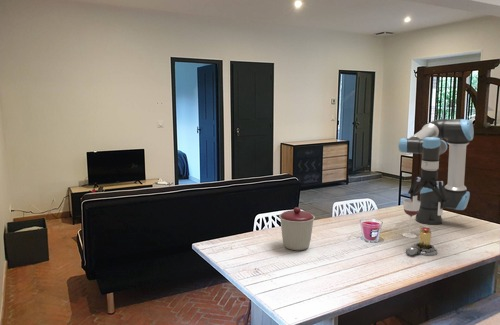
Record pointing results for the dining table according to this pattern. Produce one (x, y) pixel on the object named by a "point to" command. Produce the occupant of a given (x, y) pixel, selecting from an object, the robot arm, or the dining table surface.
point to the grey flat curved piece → (421, 250)
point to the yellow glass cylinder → (425, 238)
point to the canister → (296, 228)
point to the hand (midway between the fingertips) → (426, 211)
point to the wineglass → (410, 214)
